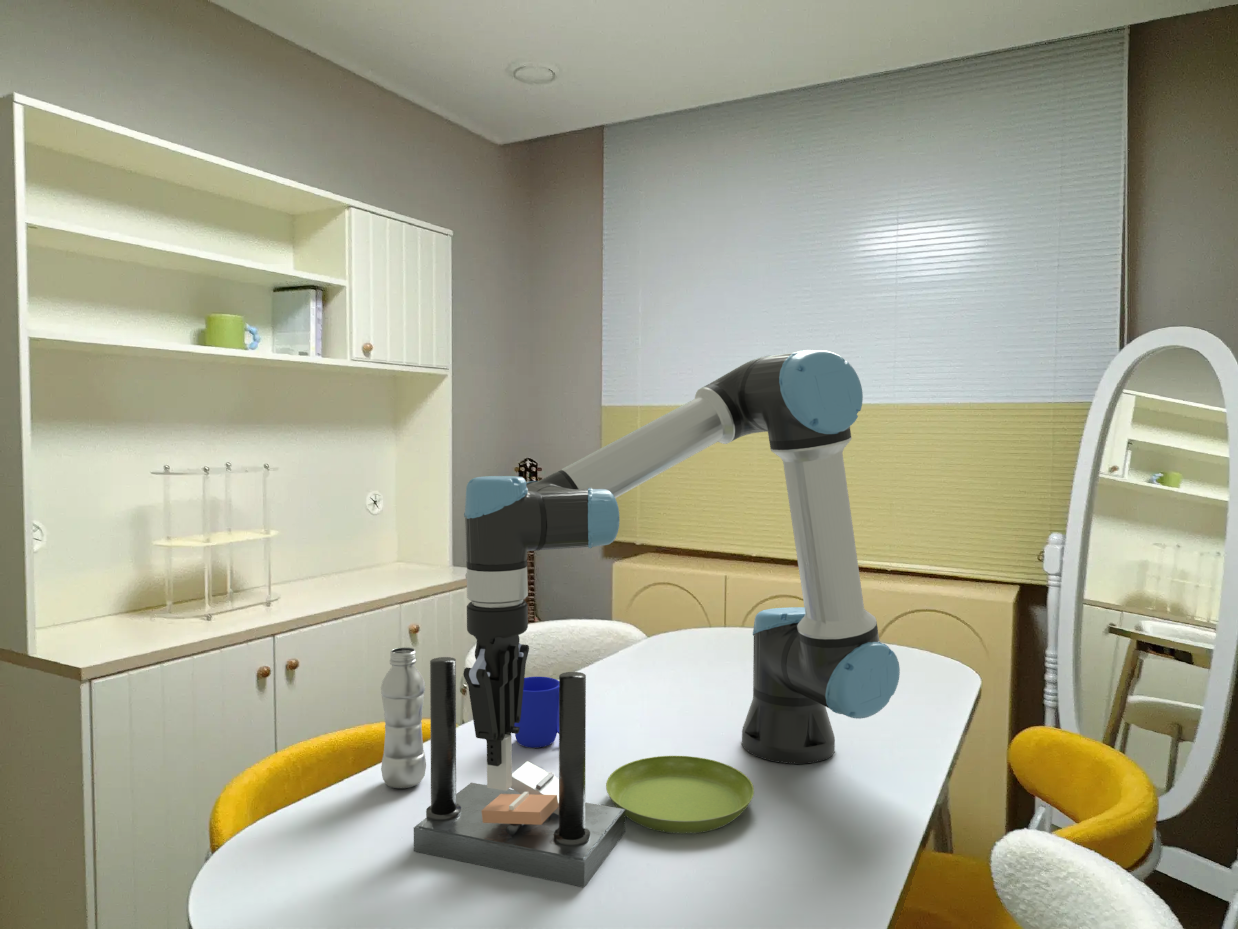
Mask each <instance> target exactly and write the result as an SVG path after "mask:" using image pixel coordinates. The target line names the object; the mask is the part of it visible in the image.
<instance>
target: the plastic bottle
mask: <svg viewBox="0 0 1238 929" xmlns="http://www.w3.org/2000/svg"><path fill="white" fill-rule="evenodd" d="M416 654H417V652H416V648H413V647H407V646H406V647H405V646H404V647H403V646H402V647H401V646H400V647H395V648H393V649H391V650H390V659H389V664H390V666H391V667H390V669H389V670H388V671H387V673H386V675H385V676H384V678H383V680H382V681H381V682H382V683H381V686H380V691H381V692H380V693H381V694H380V695H381V699H382V707H383V712H384V713H383V716H384V729H385V730H384V731H385V733H384V746H383V754H382V758H381V768H380V770H381V771H380V772H381V776H382V780H383V782H384V783H385V784H386V786H388V787H390V788H392V789H393V788H394V789H406V788H413V787H415V786H417V785H419V784H421V782H422V781H423V779H424V777H425V775H426V769H427V760H426V754H425V750H424V742H423V730H422V724H423V722H422V720H423V708H424V707H423V706H424V698H425V691H426V683H425V679H424V677H423V675H422V673H421V672H420V670H418V668H417V667H416V666H415V664H416V663H417V658H416Z"/></svg>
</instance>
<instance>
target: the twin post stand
mask: <svg viewBox="0 0 1238 929" xmlns="http://www.w3.org/2000/svg"><path fill="white" fill-rule="evenodd" d="M429 664H430V666H429V667H430V668H429V669H430V670H429V671H430V672H429V676H430V677H429V678H430V679H429V680H430V681H429V682H430V684H429V685H430V687H429V688H430V689H429V690H430V691H429V692H430V694H429V695H430V704H429V705H430V714H429V715H430V717H429V718H430V805H429V806H427V808H426V810H425V813H426V814H425V815H426V817H425V818H424V819H423V820H421V821H420V822H418V824H416V825H415V826H414V827H413V852H416V853H417V852H418V853H421V854H426V855H429V856H430V855H431V856H434V857H435V856H436V857H440V858H444V859H448V860H455V861H459V862H463V863H468V864H472V865H476V866H477V865H478V866H483V867H486V868H487V867H488V868H492V869H497V870H499V871H500V870H502V871H505V872H509V873H510V872H511V873H515V874H521V875H525V876H529V877H534V878H539V879H543V880H549V881H554V882H557V883H562V884H568V885H572V886H577V887H582V888H585V887H586V886H587V884H588V883H589V882H590V880H591V879H592V878H593V876H594V875H595V873H596V872H597V871H598V870H599V868H600V867H601V866H602V864H603V863H604V861H605V860H606V858H607V857H608V856H609V854H610V853H611V852H612V851H613V849H614V847H616V845H617V844H618V842H620V839H622V837H623V835H624V834H625V833H626V816H625V809H621V808H617V807H616V806H608V805H602V804H596V803H591V802H586V748H587V747H586V742H587V740H586V736H587V735H586V731H587V730H586V726H587V724H586V723H587V722H586V720H587V717H586V716H587V715H586V714H587V711H586V710H587V708H586V706H587V702H586V701H587V699H586V697H587V695H586V693H587V692H586V690H587V681H586V680H587V679H586V678H587V674H585V673H583V672H579V671H567V672H562V673H560V674H559V675H558V679H559V680H558V681H559V734H558V778H559V815H557V814H555V813H554V812H553V813H552V814H551V815H550V816H549V817H548V818H547V819H546V820H545V821H544V822H543V823H542V824H541V825H535V824H505V823H483V820H482V812H481V811H482V810H483V809H484V808H485V807H486V806H487V805H488V804H490V803H491V802H492V801H493V800H494V799H495V798H497V797H498V796H499V795H500V794H521V793H519V792H517V791H515V790H514V789H512V788H509V789H508V790H507V791H505V790H499V789H493V788H487V784H481V783H477V782H470V783H468V785H466V786H465V787H463V788H462V789H460V790H459V792H457V660H456V658H454V657H450V656H440V657H435V658H431V660H429Z"/></svg>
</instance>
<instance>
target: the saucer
mask: <svg viewBox="0 0 1238 929" xmlns="http://www.w3.org/2000/svg"><path fill="white" fill-rule="evenodd" d="M605 788H606V792H607V795H608V796H609V798H610V800H611V802H612V803H613V804H614V805H615V806H614V807H615V808H621V809H625V817H626V818H628V819H629V820H631V821H632V822H634V823H636V824H637V825H639V826H642V827H644V828H646V829H649V830H653V831H658V832H662V833H668V834H681V835H683V834H685V835H686V834H687V835H688V834H689V835H690V834H699V833H705V832H710V831H714V830H716V829H719V828H723V827H724V826H726V825H728V824H730V823H732V822H733V821H734V820H736V819H737V818H738V817H740V815H741V814H743V812H744V811H745V810H746V809H747V807H748V806H749V805H750V803H751V801H753V800H752V799H753V798H754V796H755V788H754V784H753V782H752V781H751V780H750V778H749V777H748V776H747V775H746V774H744V773H743V772H742V771H740V770H738V769H737V768H735V767H733V766H731V765H730V764H729V765H728V764H726V763H724V762H722V761H721V762H720V761H717V760H714V759H709V758H706V757H705V758H703V757H699V756H690V755H661V756H660V755H658V756H651V757H645V758H640V759H636V760H633V761H630V762H628V763H625V764H623V765H621V766H619V767H618V768H616V769H615V770H613V771H612V772H611V774H610V775H609V776H608V778H607V779H606V783H605Z"/></svg>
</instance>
